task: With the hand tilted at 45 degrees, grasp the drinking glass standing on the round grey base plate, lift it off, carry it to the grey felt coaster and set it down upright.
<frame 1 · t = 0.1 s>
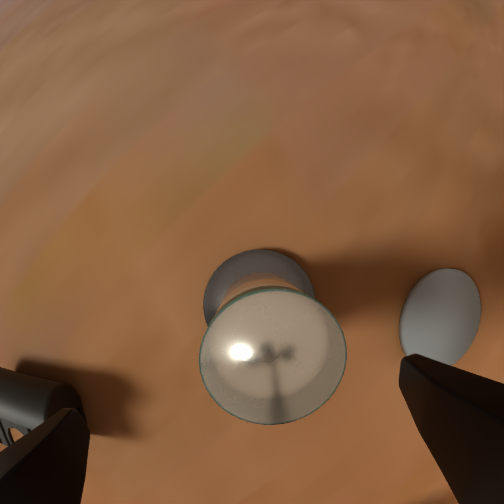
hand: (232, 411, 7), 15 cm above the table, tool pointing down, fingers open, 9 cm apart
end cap: (47, 395, 22), on the table
drinking glass: (261, 312, 19), point 3 cm above the table, touching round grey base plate
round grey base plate: (259, 304, 22), on the table
coaster: (440, 319, 23), on the table
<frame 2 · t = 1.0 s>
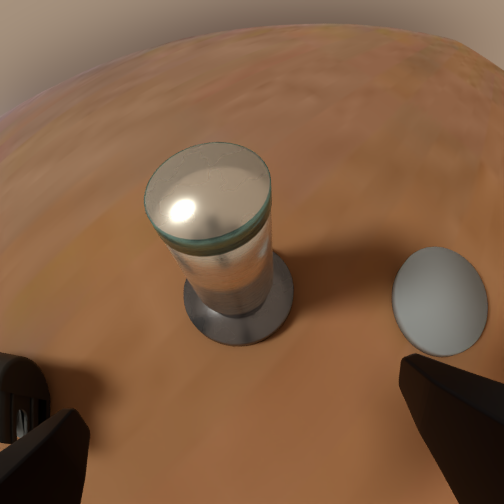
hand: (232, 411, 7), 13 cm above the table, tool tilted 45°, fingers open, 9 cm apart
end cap: (19, 397, 19), on the table
drinking glass: (233, 276, 20), point 3 cm above the table, touching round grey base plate
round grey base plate: (238, 293, 23), on the table
coaster: (440, 302, 21), on the table
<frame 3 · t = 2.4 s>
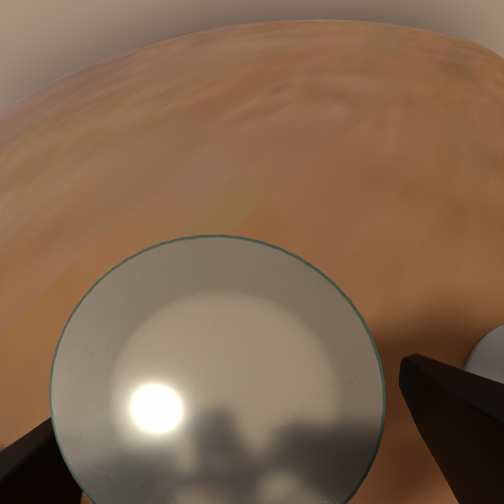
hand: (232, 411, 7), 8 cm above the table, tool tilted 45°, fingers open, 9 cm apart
drinking glass: (250, 407, 12), point 3 cm above the table, touching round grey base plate
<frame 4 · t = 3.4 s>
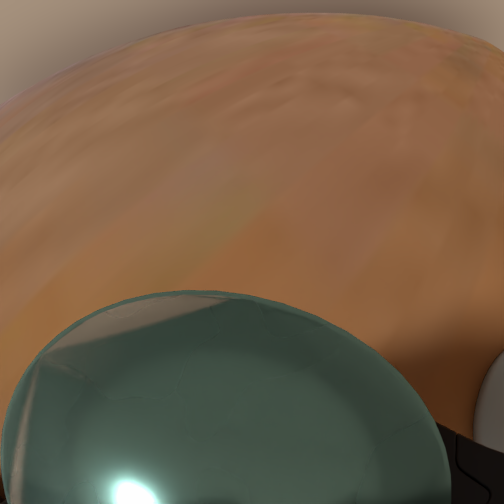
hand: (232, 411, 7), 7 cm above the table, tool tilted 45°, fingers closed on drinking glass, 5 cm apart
drinking glass: (253, 444, 10), point 3 cm above the table, touching gripper, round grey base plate
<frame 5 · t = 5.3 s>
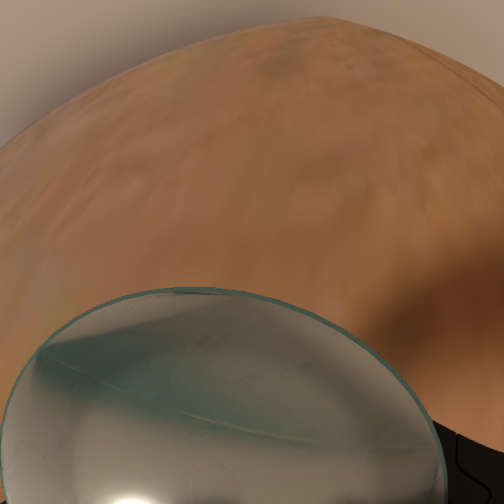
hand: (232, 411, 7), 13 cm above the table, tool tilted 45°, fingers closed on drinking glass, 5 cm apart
drinking glass: (252, 443, 10), point 9 cm above the table, touching gripper
when the fingers open (6 cm above the table, at t = 7.3 s): drinking glass drops 1 cm, resting on coaster.
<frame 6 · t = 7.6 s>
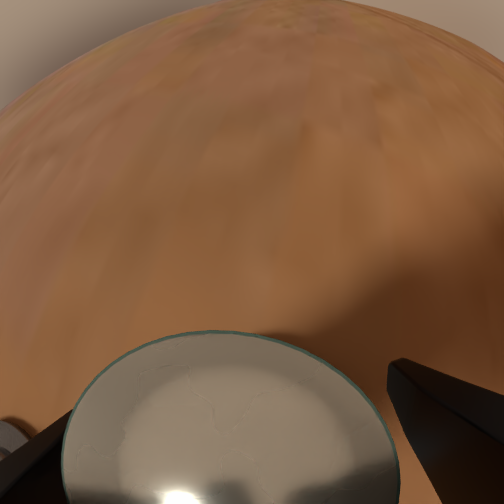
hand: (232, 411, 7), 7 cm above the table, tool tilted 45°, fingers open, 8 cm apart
drinking glass: (256, 441, 11), point 1 cm above the table, touching coaster
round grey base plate: (15, 478, 10), on the table
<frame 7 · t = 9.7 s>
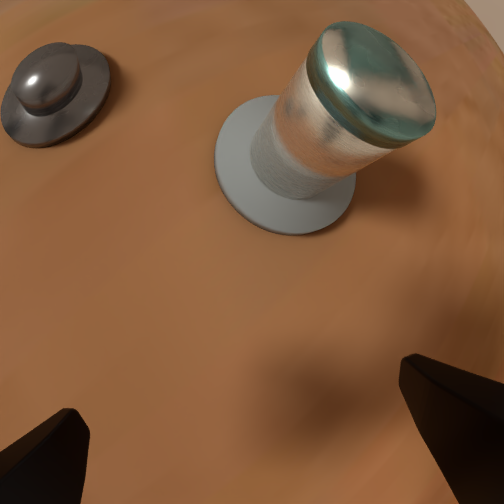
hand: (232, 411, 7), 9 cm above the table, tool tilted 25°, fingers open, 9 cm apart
drinking glass: (292, 157, 17), point 1 cm above the table, touching coaster
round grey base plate: (54, 94, 15), on the table
coaster: (286, 163, 18), on the table
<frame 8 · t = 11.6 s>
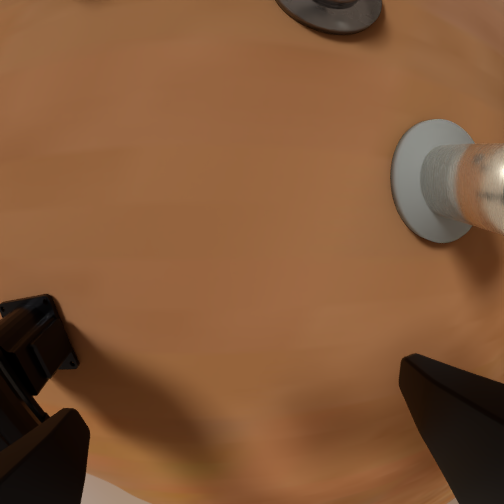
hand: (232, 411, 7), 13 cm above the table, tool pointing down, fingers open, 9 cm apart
drinking glass: (447, 181, 18), point 1 cm above the table, touching coaster
coaster: (439, 180, 19), on the table
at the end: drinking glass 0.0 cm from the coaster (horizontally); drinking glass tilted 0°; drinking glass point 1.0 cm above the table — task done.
